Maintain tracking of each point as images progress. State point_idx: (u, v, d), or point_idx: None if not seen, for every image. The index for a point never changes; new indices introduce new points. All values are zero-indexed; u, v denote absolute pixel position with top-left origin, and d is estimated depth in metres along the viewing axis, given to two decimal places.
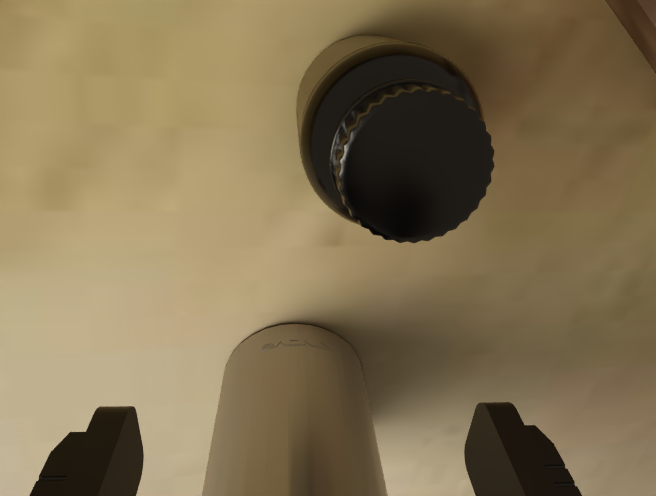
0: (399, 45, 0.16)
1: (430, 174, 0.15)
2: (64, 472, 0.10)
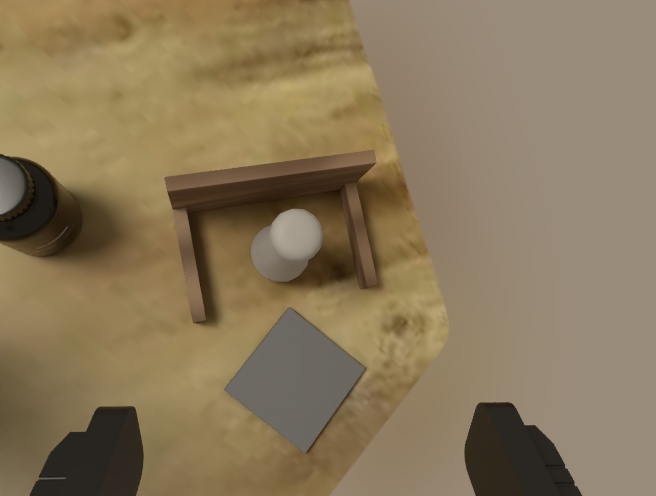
0: (40, 165, 0.39)
1: None
2: (64, 472, 0.10)
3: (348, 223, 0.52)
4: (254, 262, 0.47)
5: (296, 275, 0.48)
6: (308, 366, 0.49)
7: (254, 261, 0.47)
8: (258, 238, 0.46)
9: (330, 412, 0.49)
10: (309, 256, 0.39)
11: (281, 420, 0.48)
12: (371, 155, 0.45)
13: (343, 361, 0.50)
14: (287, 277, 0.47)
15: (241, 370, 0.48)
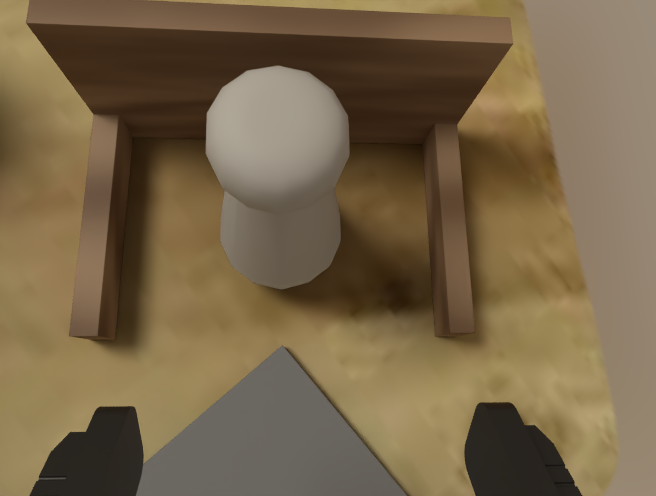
0: None
1: None
2: (64, 472, 0.10)
3: (430, 202, 0.27)
4: (221, 237, 0.23)
5: (301, 278, 0.23)
6: (297, 480, 0.23)
7: (221, 234, 0.23)
8: None
9: None
10: (297, 191, 0.14)
11: None
12: (502, 27, 0.20)
13: (375, 484, 0.23)
14: (278, 276, 0.22)
15: (154, 458, 0.23)
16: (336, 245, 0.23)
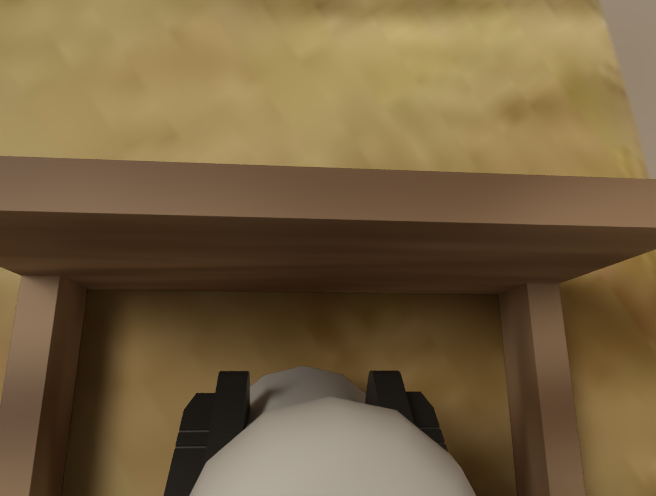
0: None
1: None
2: (200, 426, 0.11)
3: (517, 393, 0.18)
4: None
5: None
6: None
7: None
8: None
9: None
10: None
11: None
12: None
13: None
14: None
15: None
16: None
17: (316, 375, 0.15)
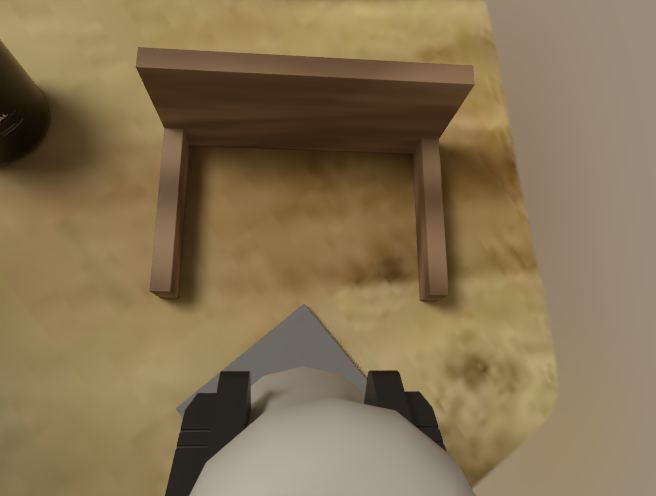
0: None
1: None
2: (201, 426, 0.11)
3: (418, 199, 0.35)
4: None
5: None
6: None
7: None
8: None
9: None
10: None
11: None
12: (467, 72, 0.28)
13: None
14: None
15: (209, 383, 0.30)
16: None
17: (316, 376, 0.15)
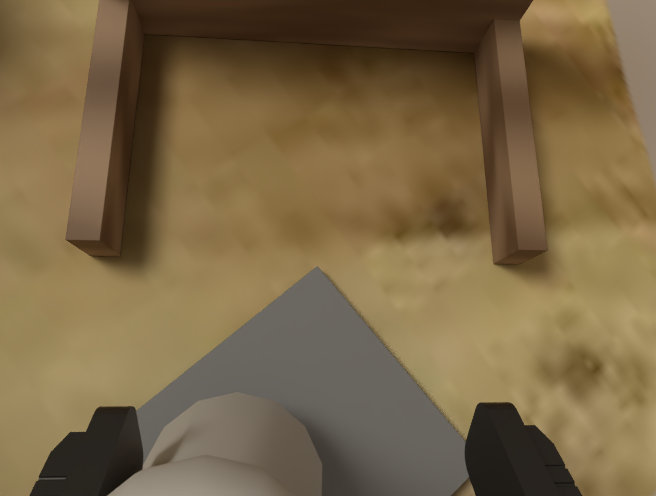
0: None
1: None
2: (64, 472, 0.10)
3: (487, 112, 0.23)
4: None
5: None
6: (335, 421, 0.19)
7: None
8: (156, 447, 0.14)
9: None
10: None
11: None
12: None
13: (429, 429, 0.19)
14: None
15: (165, 392, 0.19)
16: None
17: (245, 404, 0.15)
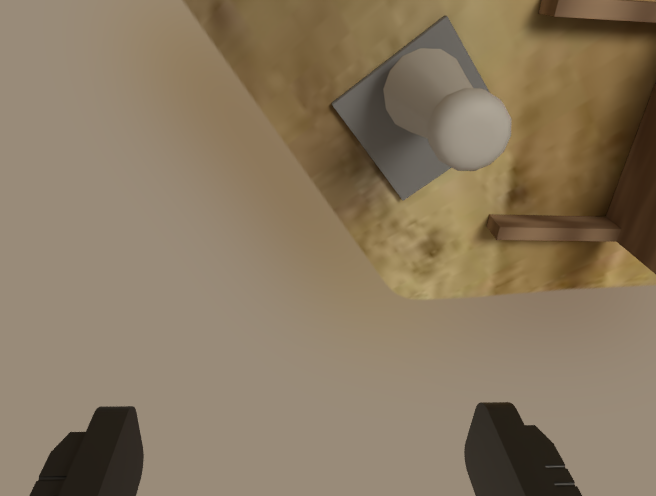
0: None
1: None
2: (64, 472, 0.10)
3: (569, 220, 0.43)
4: (425, 51, 0.33)
5: (389, 106, 0.34)
6: None
7: (426, 51, 0.33)
8: (459, 66, 0.32)
9: (369, 148, 0.39)
10: (436, 143, 0.26)
11: (381, 83, 0.37)
12: None
13: (421, 178, 0.41)
14: (392, 94, 0.33)
15: (461, 46, 0.36)
16: (408, 130, 0.35)
17: None
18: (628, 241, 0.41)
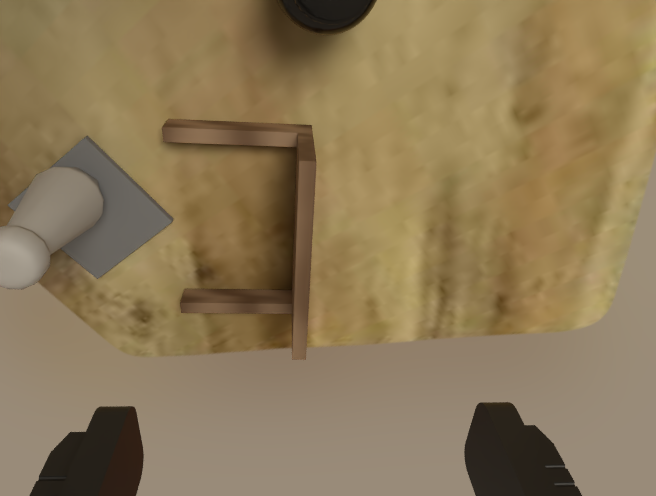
0: (361, 20, 0.31)
1: None
2: (64, 472, 0.10)
3: (254, 294, 0.50)
4: (49, 172, 0.39)
5: None
6: (104, 227, 0.45)
7: (49, 172, 0.39)
8: (70, 187, 0.39)
9: None
10: None
11: None
12: (300, 356, 0.44)
13: (107, 261, 0.47)
14: None
15: (106, 160, 0.42)
16: None
17: (93, 212, 0.40)
18: None
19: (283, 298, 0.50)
